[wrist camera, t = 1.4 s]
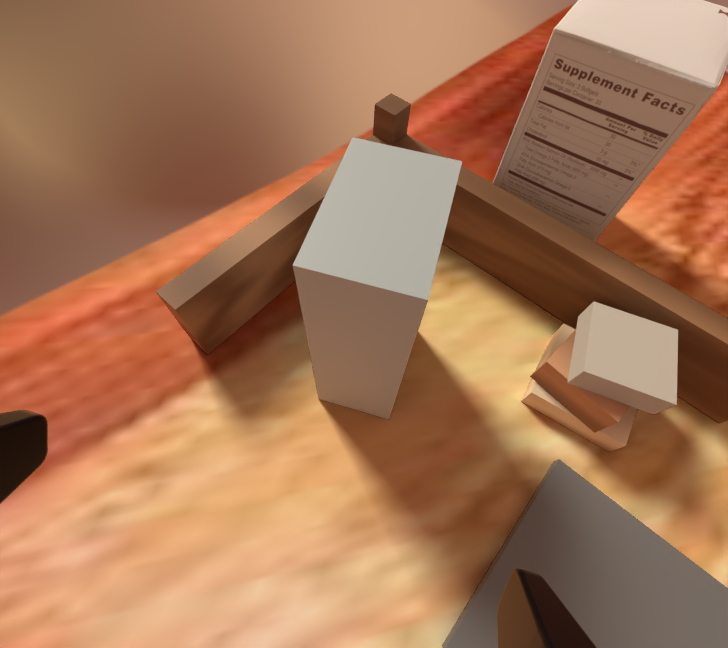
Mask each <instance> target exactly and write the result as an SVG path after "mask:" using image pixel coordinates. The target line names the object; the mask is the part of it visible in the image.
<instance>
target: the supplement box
mask: <svg viewBox="0 0 728 648" xmlns="http://www.w3.org/2000/svg"><path fill="white" fill-rule="evenodd" d="M727 64H728V8H726V7H723V6H720V5H717V4H713V3H710V2H707V1H703V0H578V1H577V2H576V4H575V5H574V6H573V7H572V8H571V9H570V10H569V12H568V13H567V14H566V15H565V16H564V18H563V19H562V20H561V21H560V22H559V23H558V25H557V26H556V27H555V28H554V30H553V32H552V35H551V37H550V40H549V42H548V45H547V47H546V50H545V53H544V55H543V58H542V60H541V62H540V65H539V68H538V70H537V73H536V75H535V78H534V80H533V83H532V85H531V88H530V91H529V93H528V95H527V98H526V100H525V103H524V105H523V108H522V110H521V113H520V115H519V118H518V120H517V122H516V125H515V127H514V130H513V132H512V135H511V137H510V140H509V143H508V145H507V148H506V150H505V153H504V155H503V158H502V160H501V163H500V166H499V168H498V171H497V173H496V176H495V178H494V181H493V183H492V184H494V185H496V186H498V187H499V188H501V189H503V190H505V191H506V192H508V193H510V194H512V195H513V196H515V197H517V198H519V199H520V200H522V201H524V202H526V203H527V204H529V205H531V206H533V207H534V208H536V209H538V210H540V211H541V212H543V213H545V214H547V215H548V216H550V217H552V218H554V219H555V220H557V221H559V222H561V223H562V224H564V225H566V226H568V227H569V228H571V229H573V230H575V231H576V232H578V233H580V234H582V235H583V236H585V237H587V238H589V239H590V240H592V241H594V242H595V240H596V239H597V238H598V236H599V235H600V234H601V233H602V232H603V230H604V229H605V228H606V227H607V225H608V224H609V223H610V222H611V221H612V219H613V218H614V217H615V216H616V214H617V213H618V212H619V211H620V210H621V208H622V207H623V206H624V205H625V203H626V202H627V201H628V200H629V199H630V197H631V196H632V195H633V194H634V192H635V191H636V190H637V189H638V187H639V186H640V185H641V184H642V182H643V181H644V180H645V179H646V177H647V176H648V175H649V174H650V173H651V171H652V170H653V169H654V168H655V166H656V165H657V164H658V163H659V162H660V160H661V159H662V158H663V157H664V156H665V154H666V153H667V152H668V151H669V149H670V148H671V147H672V146H673V144H674V143H675V142H676V141H677V140H678V138H679V137H680V136H681V135H682V133H683V132H684V131H685V130H686V128H687V127H688V126H689V124H690V123H691V122H692V121H693V119H694V118H695V117H696V116H697V114H698V113H699V112H700V110H701V109H702V108H703V107H704V105H705V104H706V103H707V101H708V100H709V99H710V97H711V96H712V95H713V94H714V92H715V91H716V90H717V88H718V87H719V85H720V82H721V80H722V78H723V75H724V72H725V69H726V67H727Z"/></svg>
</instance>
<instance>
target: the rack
mask: <svg viewBox="0 0 728 648" xmlns="http://www.w3.org/2000/svg"><path fill="white" fill-rule="evenodd" d="M410 106H411V104H410V103H408V102H406V101H404V100H402V99H401V98H399V97H397V96H395V95H393V94H390V95H388V96H387V97H385V98H384V99H382V100H381V101H379V102H378V103H376V104H375V113H374V128H373V135H372V136H371V137H369V138H368V139H367V141H372V142H376V143H381V144H385V145H390V146H395V147H399V148H404V149H408V150H413V151H417V152H422V153H426V154H431V155H436V156H440V157H445V156H443V155H442V154H440V153H438V152H436V151H435V150H433V149H431V148H429V147H428V146H426V145H424V144H422V143H421V142H419V141H417V140H415V139H414V138H412V137H410V136H408V135H407V127H408V120H409V113H410ZM343 157H344V156H343ZM343 157H342V158H340V159H339V160H338V161H336V162H335V163H333V164H332V165H331V166H329V167H328V168H326V169H325V170H324V171H322V172H321V173H319V174H318V175H317V176H315V177H314V178H313V179H311V180H310V181H308V182H307V183H306V184H304V185H303V186H301V187H300V188H299V189H297V190H296V191H295V192H293V193H292V194H290V195H289V196H288V197H286V198H285V199H283V200H282V201H281V202H279V203H278V204H277V205H275V206H274V207H272V208H271V209H270V210H268V211H267V212H265V213H264V214H263V215H261V216H260V217H259V218H257V219H256V220H254V221H253V222H252V223H250V224H249V225H247V226H246V227H245V228H243V229H242V230H241V231H239V232H238V233H236V234H235V235H234V236H232V237H231V238H229V239H228V240H227V241H225V242H224V243H223V244H221V245H220V246H218V247H217V248H216V249H214V250H213V251H211V252H210V253H209V254H207V255H206V256H205V257H203V258H202V259H200V260H199V261H198V262H196V263H195V264H193V265H192V266H191V267H189V268H188V269H187V270H185V271H184V272H182V273H181V274H180V275H178V276H177V277H175V278H174V279H173V280H171V281H170V282H168V283H167V284H166V285H164V286H163V287H162V288H160V289H159V290H157V291H156V293H157V294H158V295H159V297H160V298H161V299H162V301H163V302H164V303H165V305H166V306H167V307H168V309H169V310H170V311H171V313H172V314H173V315H174V317H175V318H176V319H177V321H178V322H179V323H180V325H181V326H182V327H183V329H184V330H185V331H186V333H187V334H188V335H189V337H190V338H191V339H192V340H193V341H194V342H195V343H196V344H197V345H198V346H199V347H200V348H201V349H202V350H203V351H204V352H205V353H206V354H207V355H208V354H209V353H210V352H212V351H213V350H214V349H215V348H216V347H217V346H219V345H220V344H221V343H222V342H223V341H225V340H226V339H227V338H228V337H229V336H231V335H232V334H233V333H234V332H235V331H237V330H238V329H239V328H240V327H241V326H242V325H244V324H245V323H246V322H247V321H248V320H250V319H251V318H252V317H253V316H254V315H256V314H257V313H258V312H259V311H260V310H261V309H263V308H264V307H265V306H266V305H267V304H269V303H270V302H271V301H272V300H273V299H275V298H276V297H277V296H278V295H279V294H280V293H282V292H283V291H284V290H285V289H286V288H288V287H289V286H290V285H291V284H292V283H294V282H295V281H296V280H295V275H294V270H293V263H294V261H295V259H296V257H297V255H298V253H299V251H300V249H301V246H302V244H303V242H304V240H305V238H306V236H307V234H308V231H309V229H310V227H311V225H312V223H313V221H314V219H315V217H316V214H317V212H318V210H319V208H320V206H321V204H322V202H323V199H324V197H325V195H326V193H327V191H328V189H329V187H330V185H331V182H332V180H333V178H334V176H335V174H336V172H337V170H338V167H339V165H340V163H341V161H342V159H343ZM445 158H447V157H445ZM442 243H443V244H445V245H446V246H448V247H449V248H451V249H452V250H454V251H455V252H457V253H459V254H460V255H462V256H463V257H465V258H466V259H468V260H469V261H471V262H472V263H474V264H475V265H477V266H479V267H480V268H482V269H483V270H485V271H486V272H488V273H489V274H491V275H492V276H494V277H495V278H497V279H498V280H500V281H502V282H503V283H505V284H506V285H508V286H509V287H511V288H512V289H514V290H515V291H517V292H518V293H520V294H522V295H523V296H525V297H526V298H528V299H529V300H531V301H532V302H534V303H535V304H537V305H538V306H540V307H542V308H543V309H545V310H546V311H548V312H549V313H551V314H552V315H554V316H555V317H557V318H558V319H560V320H561V321H563V322H565V323H566V324H568V325H569V326H571V327H572V328H574V329H575V330H576V327H577V321H578V316H579V315H580V314H581V313H582V312H583V311H584V310H585V309H586V308H587V307H588V306H589V305H591V304H592V303H593V302H597V303H600V304H603V305H606V306H609V307H612V308H615V309H618V310H621V311H624V312H627V313H630V314H633V315H636V316H639V317H642V318H645V319H648V320H651V321H654V322H656V323H659V324H662V325H665V326H668V327H671V328H674V329H677V330H678V365H677V396H678V397H680V398H681V399H683V400H684V401H686V402H687V403H689V404H691V405H692V406H694V407H695V408H697V409H698V410H700V411H701V412H703V413H704V414H706V415H707V416H709V417H711V418H712V419H714V420H715V421H717V422H718V423H721V422H724V421H727V420H728V318H727V317H725V316H723V315H721V314H720V313H718V312H716V311H714V310H713V309H711V308H709V307H707V306H706V305H704V304H702V303H700V302H699V301H697V300H695V299H694V298H692V297H690V296H688V295H687V294H685V293H683V292H681V291H680V290H678V289H676V288H674V287H673V286H671V285H669V284H667V283H666V282H664V281H662V280H660V279H659V278H657V277H655V276H653V275H652V274H650V273H648V272H646V271H645V270H643V269H641V268H639V267H638V266H636V265H634V264H632V263H631V262H629V261H627V260H625V259H624V258H622V257H620V256H618V255H617V254H615V253H613V252H611V251H610V250H608V249H606V248H604V247H603V246H601V245H599V244H597V243H596V242H594V241H592V240H590V239H589V238H587V237H585V236H583V235H582V234H580V233H578V232H576V231H575V230H573V229H571V228H569V227H568V226H566V225H564V224H562V223H561V222H559V221H557V220H555V219H554V218H552V217H550V216H548V215H547V214H545V213H543V212H541V211H540V210H538V209H536V208H534V207H533V206H531V205H529V204H527V203H526V202H524V201H522V200H520V199H519V198H517V197H515V196H513V195H512V194H510V193H508V192H506V191H505V190H503V189H501V188H499V187H498V186H496V185H494V184H492V183H491V182H489V181H487V180H485V179H484V178H482V177H480V176H478V175H477V174H475V173H473V172H471V171H470V170H468V169H466V168H464V167H463V166H461V169H460V173H459V177H458V181H457V185H456V189H455V193H454V197H453V201H452V205H451V209H450V213H449V217H448V221H447V225H446V229H445V233H444V237H443V241H442Z"/></svg>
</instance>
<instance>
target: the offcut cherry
mask: <svg viewBox="0 0 728 648" xmlns="http://www.w3.org/2000/svg"><path fill="white" fill-rule="evenodd" d="M575 333H576V330H575V331H574V332H573V333H572V334H571V335H570V336H569V337H568V338H567V339H566V340H565V341H564V342H563V343H562V344H561V345H560V346H559V347H558V348H557V349H556V350H555V351H554V352H553V353H552V354H551V355H550V357H549V358H548V359H547V360H546V361H545V362H544V363H543V364H542V365H541V366H540V367H539V368H538V369H537V370H536V371H535V372H534V373H533V374H532V375H531V376H530V377H531V378H532V379H534V380H535V381H536V382H537V383H538V384H539V385H540V386H542V387H543V388H544V389H545V390H546V391H547V392H548V393H550V394H551V395H552V396H553V397H554V398H555V399H556V400H557V401H559V402H560V403H561V404H562V405H563V406H564V407H565V408H567V409H568V410H569V411H570V412H571V413H572V414H573V415H575V416H576V417H577V418H578V419H579V420H580V421H581V422H583V423H584V424H585V425H586V426H587V427H588V428H589V429H591V430H592V431H593V432H594V433H595V432H597V431H600V430H602V429H604V428H606V427H609V426H611V425H613V424H615V423H618V422H619V420H620V419H621V418H622V417H623V415H624V414H625V413H626V412H627V410H628V409H629V408H630V407H631V406H628V405H626V404H623V403H620V402H617V401H615V400H612V399H609V398H607V397H604V396H601V395H599V394H596V393H593V392H590V391H588V390H585V389H582V388H580V387H577V386H574V385H572V384H569V383H567V382H568V376H569V370H570V364H571V358H572V352H573V345H574V339H575Z"/></svg>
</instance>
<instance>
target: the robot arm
mask: <svg viewBox="0 0 728 648" xmlns="http://www.w3.org/2000/svg"><path fill="white" fill-rule="evenodd" d="M47 452H48V423H47V420H46V418H45V417H44V416H43V415H40V414H37V413H34V412H31V411H27V410H18V411H12V412H6V413H0V504H1V503H2V502H3V501H4V500H5V499H6V498H7V497H8V496H9V495H10V494H11V493H12V492H13V491H14V490H15V489H16V488H17V487H18V486H19V485H20V484H21V483H23V482H24V481H25V480H26V479H27V478H28V477H29V476H30V475H31V474H32V473H33V472H34V471H35V470H36V469H37V468H38V467H39V466H40V465H41V464H42V463H43V461H44V460H45V458H46V456H47ZM497 634H498V648H597V647H596V646H595V644H594V643H593V642H592V641H591V639H590V638H589V637H588V635H587V634H586V633H585V631H584V630H583V629H582V627H581V626H580V625H579V624H578V622H577V621H576V620H575V618H574V617H573V616H572V614H571V613H570V612H569V610H568V609H567V608H566V607H565V605H564V604H563V603H562V601H561V600H560V599H559V597H558V596H557V595H556V594H555V592H554V591H553V590H552V588H551V587H550V586H549V584H548V583H547V582H546V580H545V579H544V578H543V577H542V576H541V575H539V574H537V573H534V572H531V571H528V570H525V569H522V568H516V569H514V571H513V572H512V574H511V576H510V578H509V581H508V583H507V585H506V588H505V590H504V592H503V595H502V597H501V599H500V602H499V605H498V611H497Z"/></svg>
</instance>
